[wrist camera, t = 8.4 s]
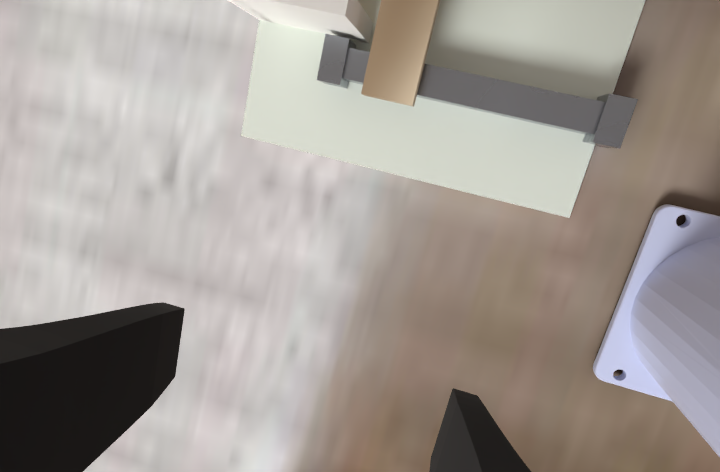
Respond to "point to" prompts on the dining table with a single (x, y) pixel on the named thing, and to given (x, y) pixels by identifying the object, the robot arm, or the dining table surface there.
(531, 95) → the rail
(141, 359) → the robot arm
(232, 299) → the dining table surface
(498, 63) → the mat
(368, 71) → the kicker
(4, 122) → the dining table surface
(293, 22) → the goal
